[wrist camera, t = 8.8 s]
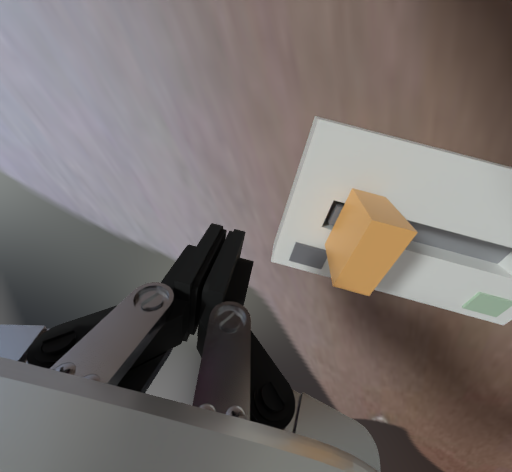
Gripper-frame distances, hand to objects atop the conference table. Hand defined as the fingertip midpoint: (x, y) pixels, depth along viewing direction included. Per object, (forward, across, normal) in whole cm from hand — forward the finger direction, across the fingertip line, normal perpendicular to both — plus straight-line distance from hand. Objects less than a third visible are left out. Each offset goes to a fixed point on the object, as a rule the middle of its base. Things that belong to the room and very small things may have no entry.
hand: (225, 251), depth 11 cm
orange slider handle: (+9, -8, 0) cm, 12 cm away
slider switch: (+10, -14, 0) cm, 17 cm away
